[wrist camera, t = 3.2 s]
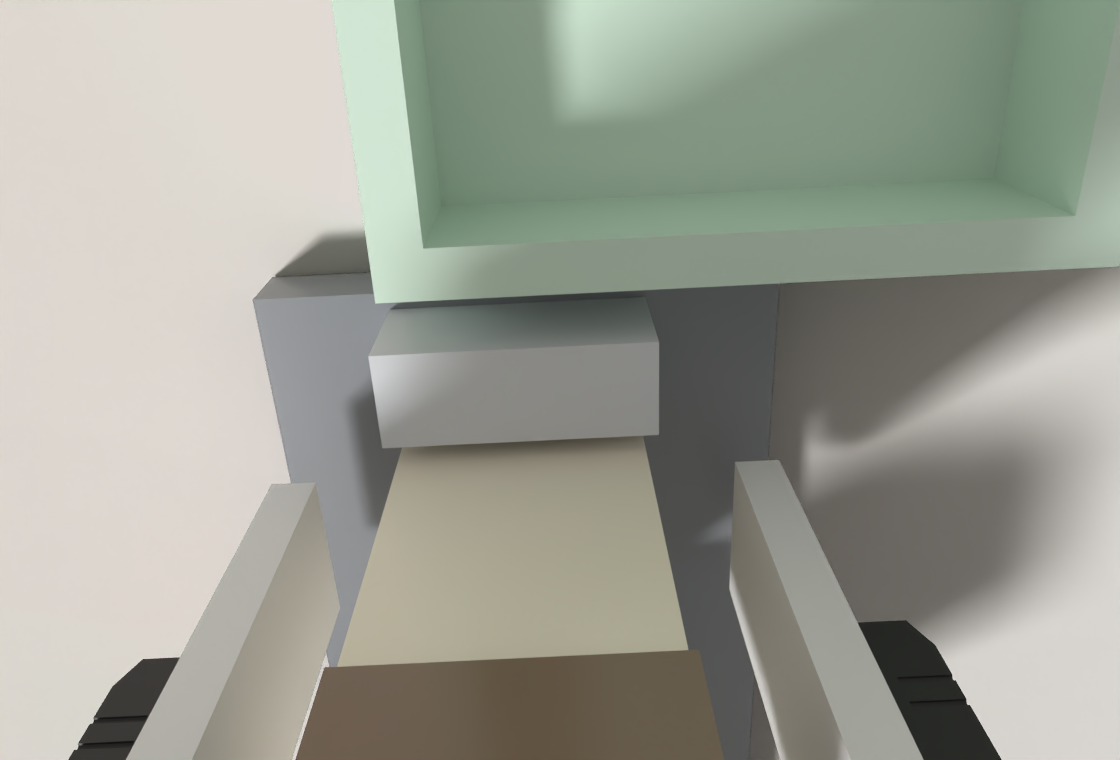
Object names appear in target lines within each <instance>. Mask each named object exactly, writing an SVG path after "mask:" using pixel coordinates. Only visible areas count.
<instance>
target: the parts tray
mask: <svg viewBox="0 0 1120 760" xmlns="http://www.w3.org/2000/svg"><path fill="white" fill-rule="evenodd" d="M331 3H332V10H333V17H334V24H335V31H336V37H337V44H338V51H339V58H340V65H341V72H342V79H343V85H344V92H345V99H346V106H347V113H348V120H349V127H350V133H351V140H352V147H353V154H354V161H355V168H356V175H357V181H358V188H359V195H360V202H361V209H362V216H363V223H364V229H365V236H366V243H367V250H368V257H369V264H370V271H371V277H372V284H373V291H374V298H375V304H377V303H397V302H417V301H437V300H457V299H477V298H497V297H517V296H537V295H557V294H578V293H598V292H618V291H638V290H658V289H678V288H698V287H718V286H738V285H758V284H778V283H799V282H819V281H839V280H859V279H879V278H899V277H919V276H939V275H959V274H979V273H1000V272H1020V271H1040V270H1060V269H1080V268H1100V267H1119V263H1120V0H331Z"/></svg>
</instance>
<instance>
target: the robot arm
mask: <svg viewBox="0 0 1120 760" xmlns="http://www.w3.org/2000/svg"><path fill="white" fill-rule="evenodd" d="M729 590H730V593H731V597H732V600H733V603H734V607H735V610H736V613H737V617H738V620H739V623H740V627H741V630H742V633H743V637H744V640H745V643H746V647H747V650H748V653H749V657H750V660H751V663H752V667H753V670H754V673H755V677H756V680H757V683H758V687H759V690H760V693H761V697H762V700H763V703H764V707H765V710H766V713H767V717H768V720H769V723H770V727H771V730H772V733H773V737H774V740H775V743H776V747H777V750H778V753H779V757H780V760H1001V758H1000V756H999V755H998V753H997V751H996V749H995V748H994V746H993V744H992V743H991V741H990V739H989V737H988V736H987V734H986V732H985V730H984V729H983V727H982V725H981V724H980V722H979V720H978V718H977V717H976V715H975V713H974V711H973V710H972V708H971V706H970V705H967V703H966V698H965V696H964V694H963V693H962V691H961V689H960V687H959V686H958V684H957V682H956V680H955V681H953V679H952V674H951V672H950V670H949V668H948V667H947V665H946V663H945V661H944V660H943V658H942V656H941V655H940V653H939V651H938V649H937V648H936V646H935V645H934V644H933V643H932V642H931V641H929V640H928V639H927V638H926V637H925V636H924V635H922V634H921V633H920V632H919V631H918V630H916V629H915V628H914V627H913V626H912V625H911V624H909V623H908V622H907V621H906V620H905V621H884V622H863V623H858V622H857V620H856V618H855V616H854V614H853V612H852V610H851V608H850V606H849V604H848V602H847V600H846V598H845V595H844V593H843V591H842V589H841V587H840V585H839V583H838V581H837V579H836V577H835V575H834V573H833V571H832V568H831V566H830V564H829V562H828V560H827V558H826V556H825V554H824V552H823V550H822V548H821V546H820V544H819V541H818V539H817V537H816V535H815V533H814V531H813V529H812V527H811V525H810V523H809V521H808V519H807V517H806V514H805V512H804V510H803V508H802V506H801V504H800V502H799V500H798V498H797V496H796V494H795V492H794V490H793V487H792V485H791V483H790V481H789V479H788V477H787V475H786V473H785V471H784V469H783V467H782V465H781V462H780V460H764V461H743V462H735V474H734V496H733V518H732V540H731V562H730V584H729ZM339 610H340V605H339V600H338V594H337V589H336V584H335V579H334V574H333V569H332V564H331V559H330V553H329V548H328V543H327V538H326V533H325V528H324V523H323V518H322V513H321V507H320V502H319V497H318V492H317V487H316V482H313V483H292V484H272V485H271V487H270V489H269V491H268V492H267V494H266V496H265V498H264V500H263V502H262V504H261V506H260V508H259V509H258V511H257V513H256V515H255V517H254V519H253V521H252V523H251V525H250V526H249V528H248V530H247V532H246V534H245V536H244V538H243V540H242V542H241V543H240V545H239V547H238V549H237V551H236V553H235V555H234V557H233V558H232V560H231V562H230V564H229V566H228V568H227V570H226V572H225V574H224V575H223V577H222V579H221V581H220V583H219V585H218V587H217V589H216V591H215V592H214V594H213V596H212V598H211V600H210V602H209V604H208V606H207V608H206V609H205V611H204V613H203V615H202V617H201V619H200V621H199V623H198V625H197V626H196V628H195V630H194V632H193V634H192V636H191V638H190V640H189V642H188V643H187V645H186V647H185V649H184V651H183V653H182V655H181V657H180V658H159V659H143V660H142V661H140V662H139V663H138V664H137V665H136V666H135V667H134V668H133V669H132V670H130V671H129V672H128V673H127V674H126V675H125V676H124V677H123V678H122V679H121V680H119V681H118V682H117V683H116V684H115V685H114V686H113V687H112V688H111V690H110V692H109V693H108V695H107V697H106V698H105V700H104V702H103V703H102V705H101V707H100V708H99V710H98V711H97V713H96V715H95V716H94V722H93V724H90V725H89V726H88V728H87V730H86V731H85V733H84V735H83V736H82V738H81V740H80V741H79V743H78V745H79V746H78V749H77V750H74V751H73V753H72V755H71V756H70V758H69V760H292V757H293V753H294V750H295V747H296V744H297V741H298V738H299V735H300V732H301V728H302V725H303V722H304V719H305V716H306V713H307V710H308V707H309V703H310V700H311V697H312V694H313V691H314V688H315V685H316V682H317V678H318V675H319V672H320V669H321V666H322V663H323V660H324V657H325V653H326V650H327V647H328V644H329V641H330V638H331V635H332V632H333V628H334V625H335V622H336V619H337V616H338V613H339Z"/></svg>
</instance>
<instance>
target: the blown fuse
mask: <svg viewBox="0 0 1120 760" xmlns="http://www.w3.org/2000/svg"><path fill="white" fill-rule="evenodd" d="M296 760H724V756H723V752H722V747H721V743H720V739H719V734H718V730H717V726H716V721H715V717H714V713H713V708H712V704H711V699H710V695H709V691H708V686H707V682H706V678H705V673H704V669H703V664H702V660H701V656H700V651H699V650H688V645H687V640H686V636H685V631H684V626H683V622H682V617H681V612H680V607H679V603H678V598H677V593H676V589H675V584H674V579H673V575H672V570H671V565H670V560H669V556H668V551H667V546H666V542H665V537H664V532H663V528H662V523H661V518H660V514H659V509H658V504H657V499H656V495H655V490H654V485H653V481H652V476H651V471H650V467H649V462H648V457H647V452H646V448H645V443H644V438H643V436H625V437H604V438H584V439H563V440H543V441H523V442H502V443H482V444H461V445H441V446H421V447H402V450H401V453H400V457H399V460H398V463H397V467H396V470H395V473H394V477H393V480H392V484H391V487H390V490H389V494H388V497H387V500H386V504H385V507H384V510H383V514H382V517H381V521H380V524H379V527H378V531H377V534H376V537H375V541H374V544H373V547H372V551H371V554H370V558H369V561H368V564H367V568H366V571H365V574H364V578H363V581H362V584H361V588H360V591H359V595H358V598H357V601H356V605H355V608H354V611H353V615H352V618H351V621H350V625H349V628H348V632H347V635H346V638H345V642H344V645H343V648H342V652H341V655H340V658H339V662H338V665H337V667H325V668H324V671H323V674H322V677H321V681H320V684H319V687H318V690H317V693H316V696H315V700H314V703H313V706H312V709H311V712H310V715H309V719H308V722H307V725H306V728H305V731H304V735H303V738H302V741H301V744H300V747H299V750H298V754H297V757H296Z"/></svg>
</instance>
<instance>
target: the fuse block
mask: <svg viewBox="0 0 1120 760" xmlns="http://www.w3.org/2000/svg"><path fill="white" fill-rule="evenodd" d="M778 298H779V283H778V284H758V285H738V286H718V287H698V288H678V289H658V290H638V291H618V292H598V293H578V294H557V295H537V296H517V297H497V298H477V299H457V300H437V301H417V302H397V303H377V304H375V298H374V291H373V284H372V277H371V272H370V273H350V274H330V275H310V276H290V277H272V279H271V280H270V281H269V282H268V283H267V284H266V285H265V287H264V288H263V289H262V290H261V291H260V292H259V293H258V294H257V296H256V297H255V298H254V299H253V304H254V308H255V313H256V318H257V323H258V328H259V332H260V337H261V342H262V347H263V351H264V356H265V361H266V366H267V370H268V375H269V380H270V385H271V390H272V394H273V399H274V404H275V409H276V413H277V418H278V423H279V428H280V433H281V437H282V442H283V447H284V452H285V456H286V461H287V466H288V471H289V476H290V480H291V484H292V483H313V482H316V487H317V492H318V497H319V502H320V507H321V513H322V518H323V523H324V528H325V533H326V538H327V543H328V548H329V553H330V559H331V564H332V569H333V574H334V579H335V584H336V589H337V594H338V600H339V605H340V610H339V613H338V616H337V619H336V622H335V625H334V628H333V632H332V635H331V638H330V641H329V644H328V647H327V650H326V652H327V657H328V662H329V667H337V665H338V662H339V658H340V655H341V652H342V648H343V645H344V642H345V638H346V635H347V632H348V628H349V625H350V621H351V618H352V615H353V611H354V608H355V605H356V601H357V598H358V595H359V591H360V588H361V584H362V581H363V578H364V574H365V571H366V568H367V564H368V561H369V558H370V554H371V551H372V547H373V544H374V541H375V537H376V534H377V531H378V527H379V524H380V521H381V517H382V514H383V510H384V507H385V504H386V500H387V497H388V494H389V490H390V487H391V484H392V480H393V477H394V473H395V470H396V467H397V463H398V460H399V457H400V453H401V450H402V447H421V446H441V445H461V444H482V443H502V442H523V441H543V440H563V439H584V438H604V437H625V436H643V438H644V443H645V448H646V452H647V457H648V462H649V467H650V471H651V476H652V481H653V485H654V490H655V495H656V499H657V504H658V509H659V514H660V518H661V523H662V528H663V532H664V537H665V542H666V546H667V551H668V556H669V560H670V565H671V570H672V575H673V579H674V584H675V589H676V593H677V598H678V603H679V607H680V612H681V617H682V622H683V626H684V631H685V636H686V640H687V645H688V650H699V651H700V656H701V660H702V664H703V669H704V673H705V678H706V682H707V686H708V691H709V695H710V699H711V704H712V708H713V713H714V717H715V721H716V726H717V730H718V734H719V739H720V743H721V747H722V752H723V756H724V760H749V749H750V734H751V718H752V703H753V687H754V670H753V667H752V663H751V660H750V657H749V653H748V650H747V647H746V643H745V640H744V637H743V633H742V630H741V627H740V623H739V620H738V617H737V613H736V610H735V607H734V603H733V600H732V597H731V593H730V590H729V584H730V562H731V540H732V518H733V496H734V474H735V462H743V461H764V460H768V454H769V438H770V423H771V407H772V392H773V376H774V361H775V345H776V329H777V314H778Z"/></svg>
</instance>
